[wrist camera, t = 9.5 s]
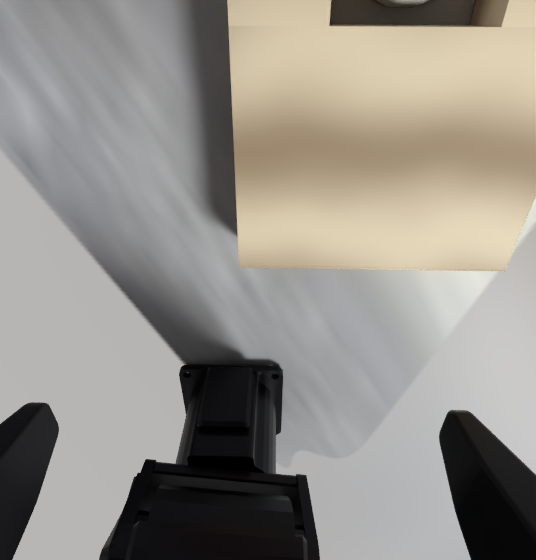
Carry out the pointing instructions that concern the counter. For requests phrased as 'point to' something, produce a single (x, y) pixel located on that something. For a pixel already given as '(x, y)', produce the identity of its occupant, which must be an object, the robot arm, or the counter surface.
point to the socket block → (382, 137)
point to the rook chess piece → (402, 3)
